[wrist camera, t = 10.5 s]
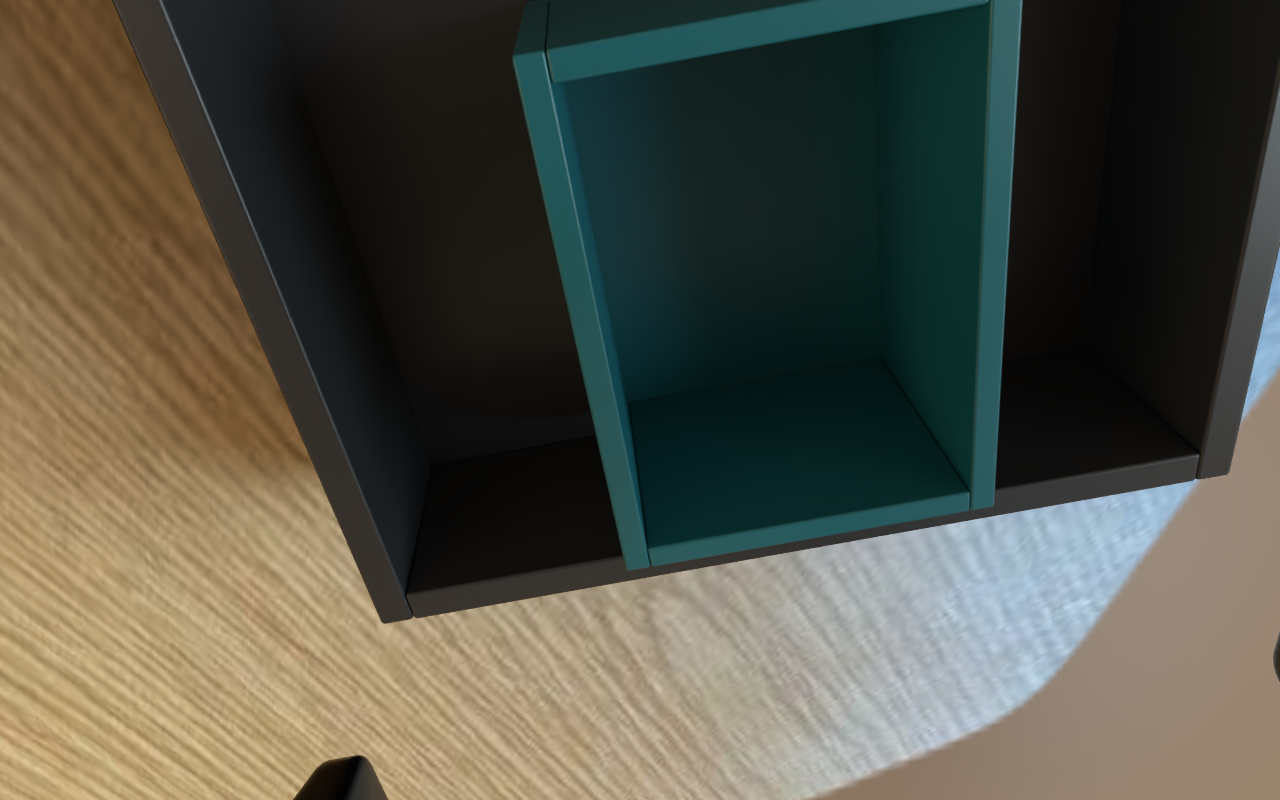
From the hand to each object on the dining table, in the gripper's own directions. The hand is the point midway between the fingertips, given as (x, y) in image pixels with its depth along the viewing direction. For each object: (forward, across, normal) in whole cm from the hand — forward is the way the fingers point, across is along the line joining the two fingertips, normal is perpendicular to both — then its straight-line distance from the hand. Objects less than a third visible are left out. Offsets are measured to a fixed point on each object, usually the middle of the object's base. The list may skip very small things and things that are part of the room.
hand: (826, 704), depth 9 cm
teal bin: (+10, -1, -2) cm, 10 cm away
